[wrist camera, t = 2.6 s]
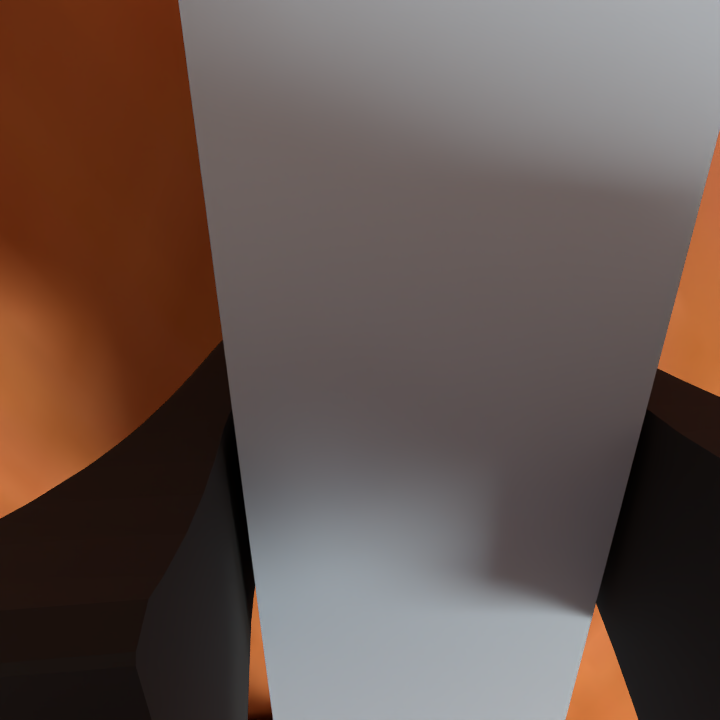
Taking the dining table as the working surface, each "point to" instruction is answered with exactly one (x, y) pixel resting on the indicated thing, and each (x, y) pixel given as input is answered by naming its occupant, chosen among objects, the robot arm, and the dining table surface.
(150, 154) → the dining table surface
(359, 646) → the rectangular block
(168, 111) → the dining table surface
